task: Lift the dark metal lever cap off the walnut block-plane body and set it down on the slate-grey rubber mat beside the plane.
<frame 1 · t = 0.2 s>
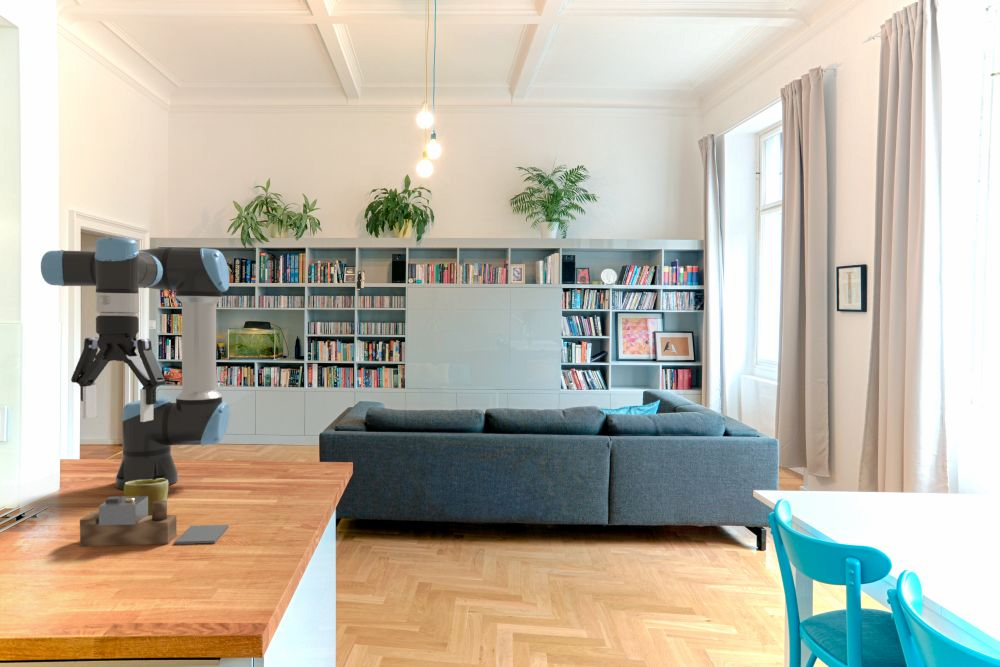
hand: (118, 419, 136), 26 cm above the worktop, fingers open, 13 cm apart
mug: (150, 514, 159), on the worktop
lever cap: (124, 519, 140), point 4 cm above the worktop, touching plane body
mat: (202, 535, 144), on the worktop
plane body: (129, 540, 140), on the worktop
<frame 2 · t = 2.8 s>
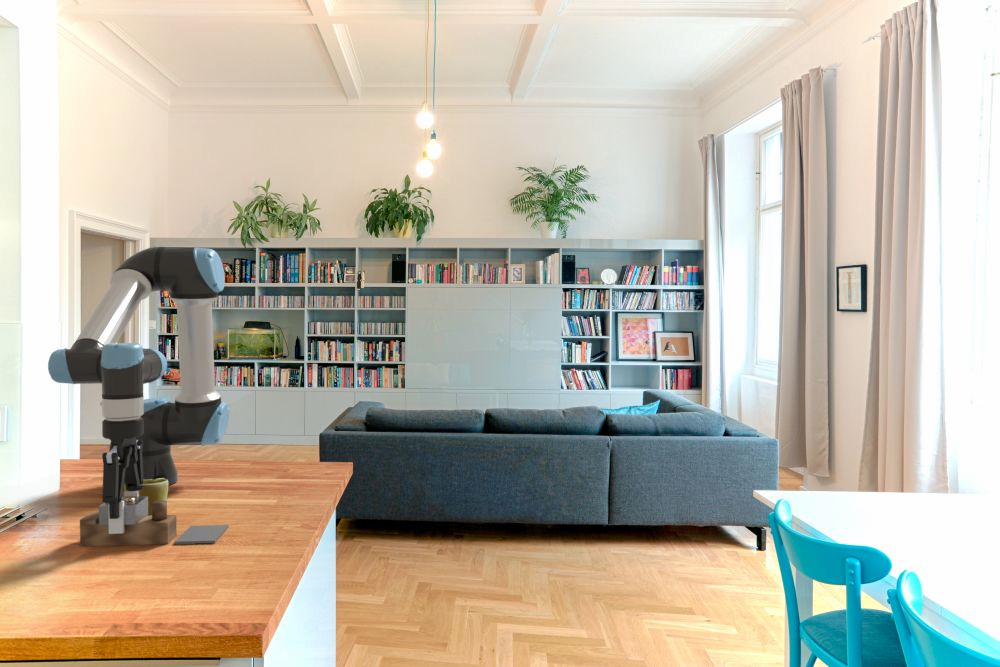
hand: (124, 526, 140), 3 cm above the worktop, fingers closed on lever cap, 6 cm apart
lever cap: (124, 519, 140), point 5 cm above the worktop, touching gripper, plane body
everything else where it was.
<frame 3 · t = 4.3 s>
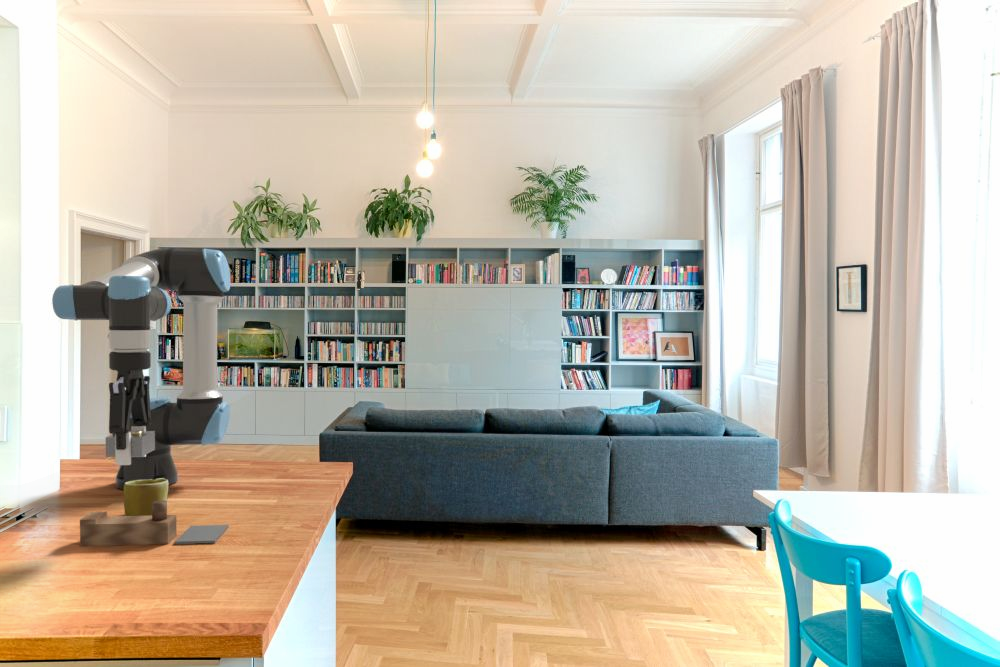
hand: (131, 460, 140), 17 cm above the worktop, fingers closed on lever cap, 6 cm apart
lever cap: (131, 453, 139), point 18 cm above the worktop, touching gripper
everything else where it was.
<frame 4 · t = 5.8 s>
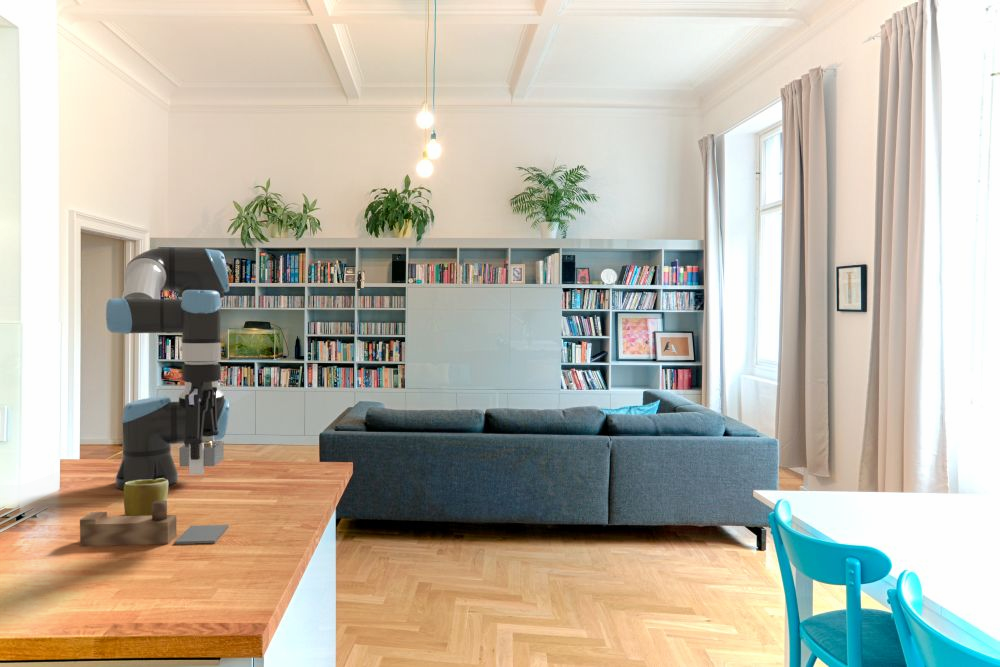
hand: (202, 469, 143), 14 cm above the worktop, fingers closed on lever cap, 6 cm apart
lever cap: (202, 462, 143), point 16 cm above the worktop, touching gripper
everything else where it was.
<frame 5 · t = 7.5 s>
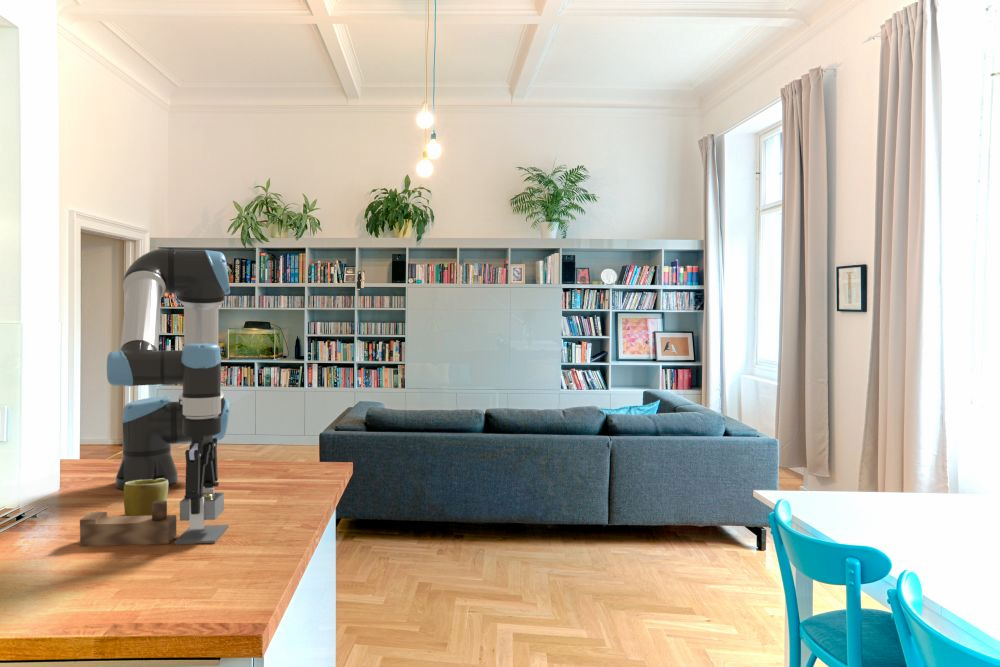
hand: (202, 522, 144), 3 cm above the worktop, fingers closed on lever cap, 6 cm apart
lever cap: (202, 515, 143), point 4 cm above the worktop, touching gripper
everything else where it was.
when the fingers open (1 cm above the worktop, at t = 8.8 s): lever cap drops 2 cm, resting on mat.
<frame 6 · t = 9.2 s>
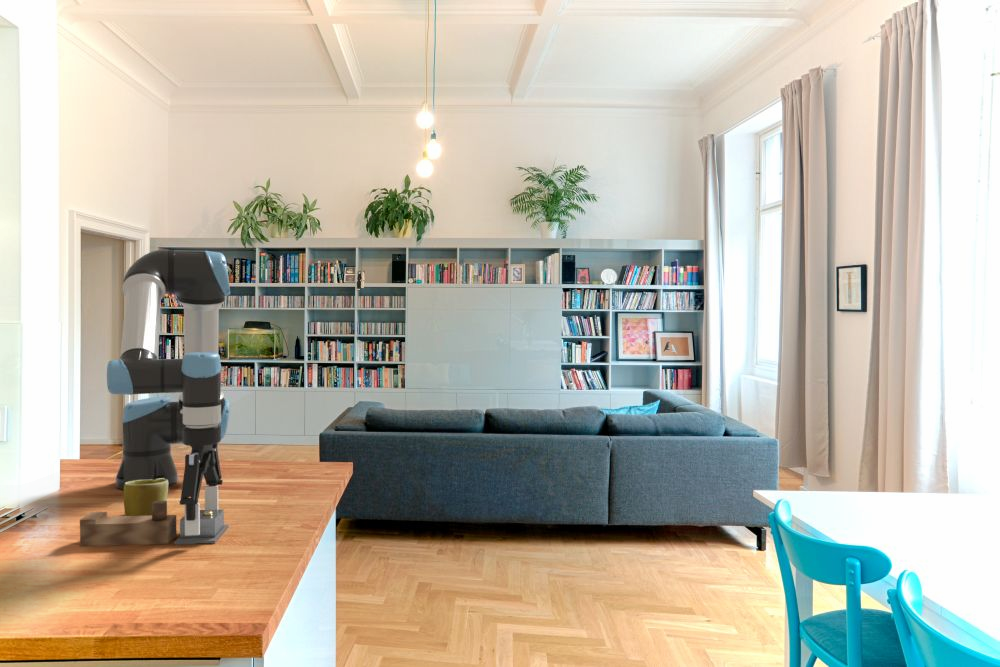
hand: (202, 524, 144), 2 cm above the worktop, fingers open, 12 cm apart
lever cap: (202, 532, 144), point 1 cm above the worktop, touching mat
everything else where it was.
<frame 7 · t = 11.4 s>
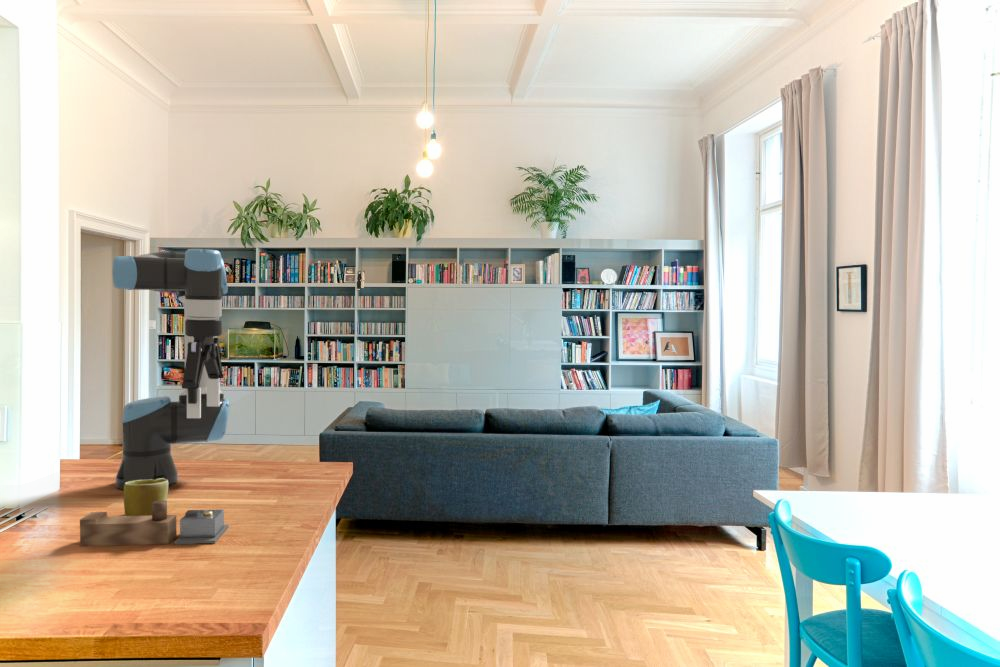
hand: (204, 412, 152), 25 cm above the worktop, fingers open, 13 cm apart
nothing on the worktop moved.
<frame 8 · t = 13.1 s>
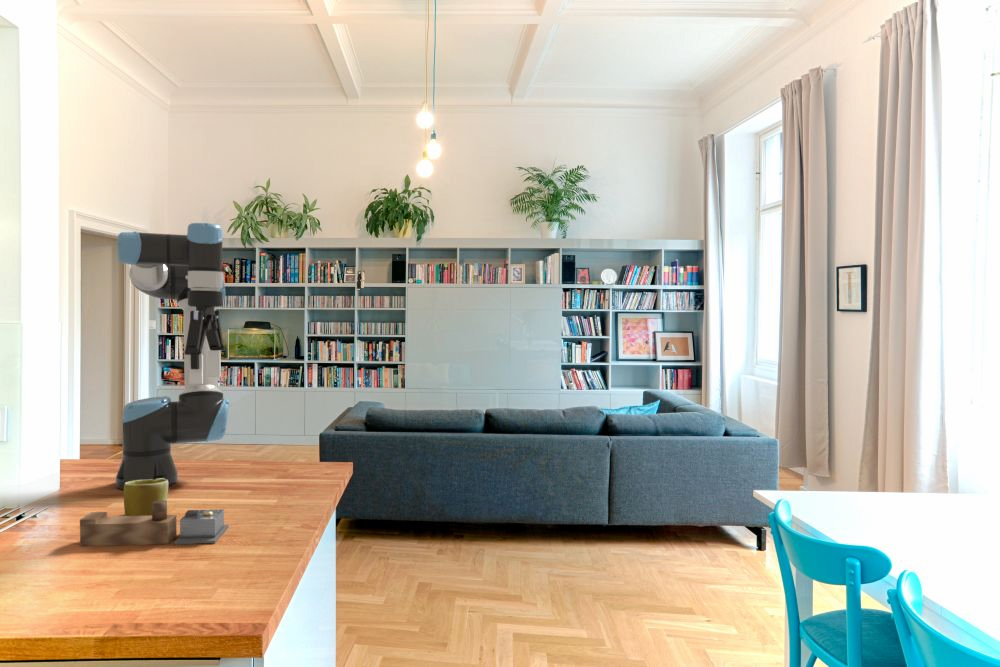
hand: (205, 380, 158), 32 cm above the worktop, fingers open, 13 cm apart
nothing on the worktop moved.
at the end: lever cap inside the target area on the mat (0.1 cm from its centre), point 0.6 cm above the mat's base; lever cap tilted 0°; the gripper is holding nothing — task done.
